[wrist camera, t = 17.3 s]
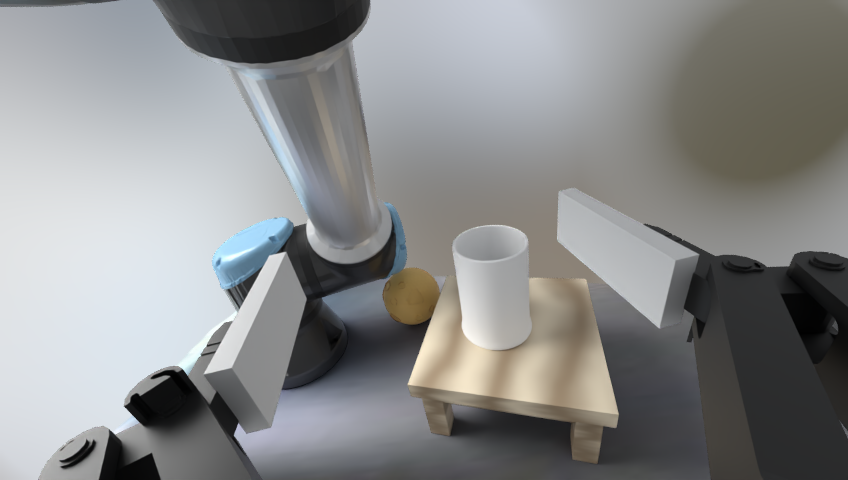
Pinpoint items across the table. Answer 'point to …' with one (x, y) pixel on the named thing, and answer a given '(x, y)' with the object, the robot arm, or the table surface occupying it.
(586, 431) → the footstool
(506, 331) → the mug
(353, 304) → the table surface
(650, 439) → the table surface
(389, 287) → the stress ball
